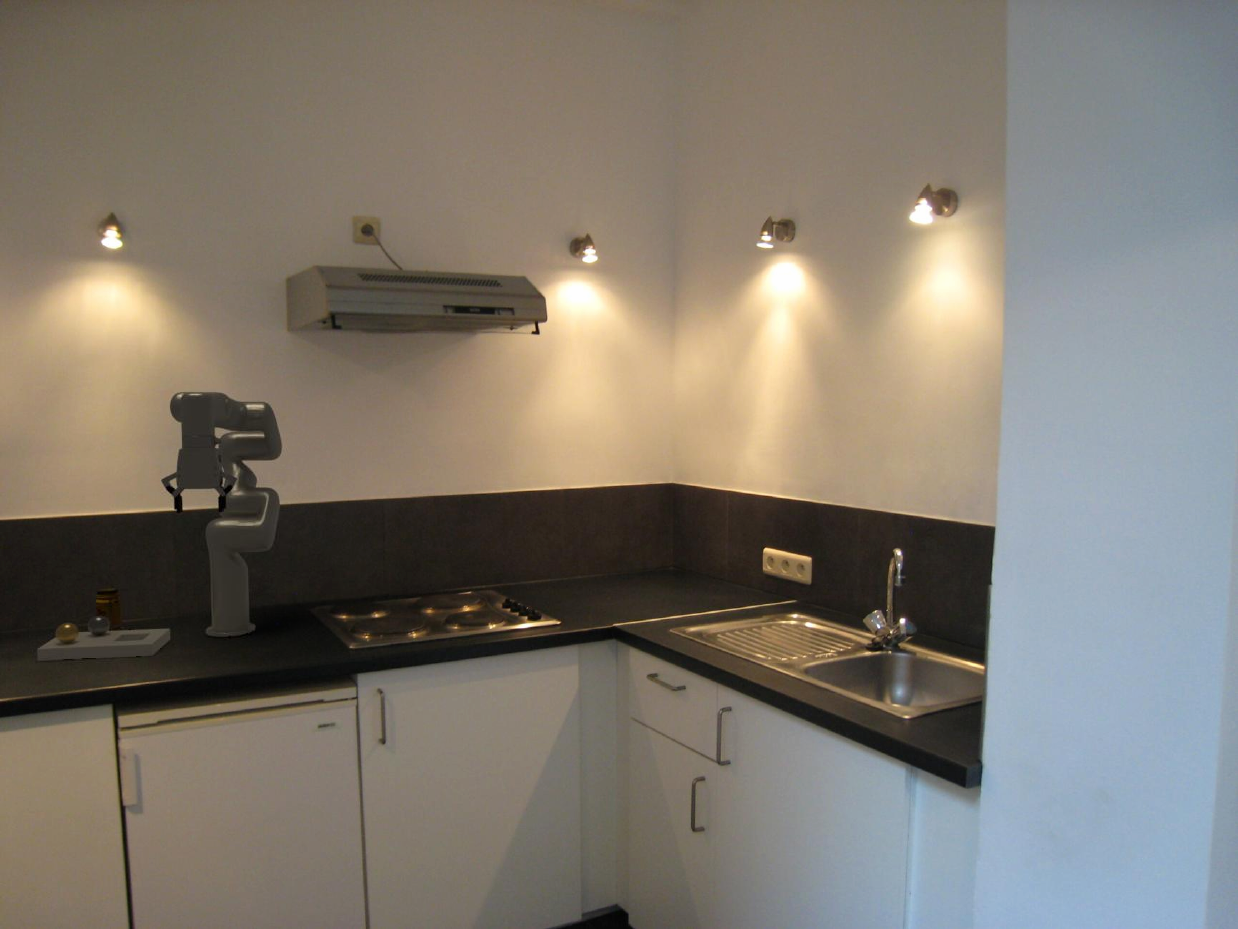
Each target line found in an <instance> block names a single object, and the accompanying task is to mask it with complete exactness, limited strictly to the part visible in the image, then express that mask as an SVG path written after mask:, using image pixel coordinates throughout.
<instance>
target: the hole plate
mask: <svg viewBox="0 0 1238 929" xmlns="http://www.w3.org/2000/svg"><path fill="white" fill-rule="evenodd" d="M170 641H171V629H170V628H153V629H152V628H150V629H149V628H148V629H131V630H121V631H107V632H106V633H104V634H102V635H94V634H92V633H91V632H90V631H79V634H78V637H77V638H76V639H75V640H74V641H73V642H70V643H62V642H60V641H59V640H58V639H57V638H56V637H54V638H53V639H51V640H49V641H48V642H46V643H44V644H43V645H41V646H40V647H38V648H37V649H36V652H37V662H49V661H64V660H63V659H74V660H83V659H82V658H96V659H113V658H114V659H117V658H133V657H134V658H137V657H136V656H141V657H153V656H154V655H155V654H157V652H159V650H161V649H162V648H163V647H164V646H165V645H166V644H167V643H169V642H170ZM160 648H161V649H160Z"/></svg>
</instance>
